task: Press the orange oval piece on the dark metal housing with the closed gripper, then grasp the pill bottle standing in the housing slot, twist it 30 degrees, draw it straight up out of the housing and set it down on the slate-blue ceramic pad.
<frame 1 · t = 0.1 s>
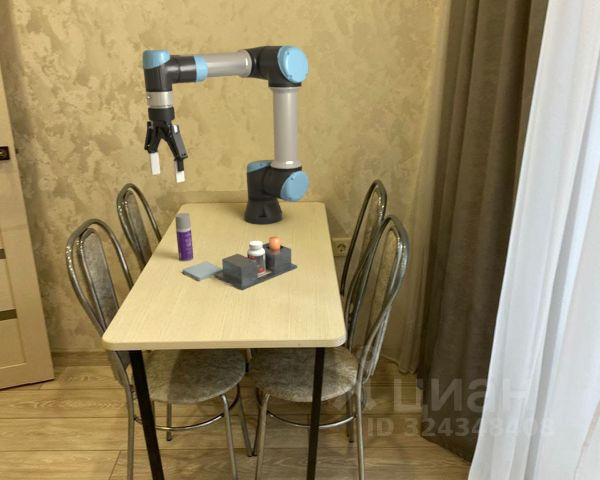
hand: (167, 177, 165), 28 cm above the table, fingers open, 13 cm apart
pill bottle: (257, 273, 167), resting in housing
orange oval piece: (274, 246, 170), point 6 cm above the table, slide at 0.0 cm
pad: (203, 272, 168), on the table
housing: (256, 272, 167), on the table
container: (186, 259, 178), on the table
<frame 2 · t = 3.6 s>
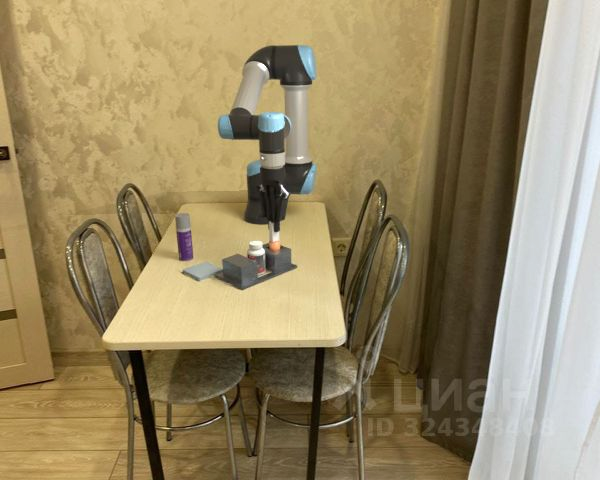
hand: (274, 240, 169), 8 cm above the table, fingers closed
orange oval piece: (274, 248, 170), point 6 cm above the table, slide at 0.9 cm, touching gripper
everything else where it was.
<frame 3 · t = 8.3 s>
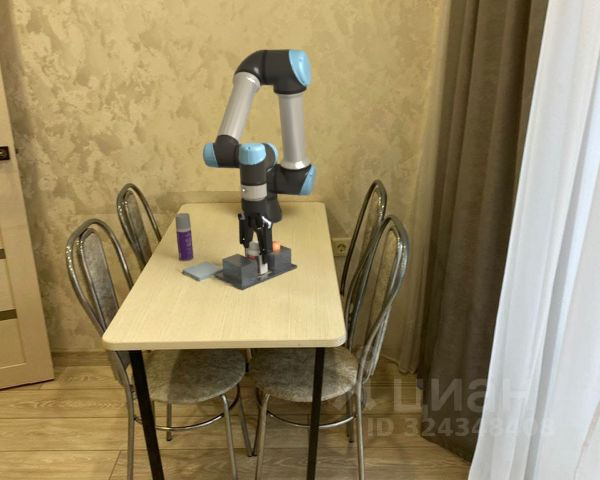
hand: (256, 269, 167), 1 cm above the table, fingers closed on pill bottle, 5 cm apart
pill bottle: (257, 272, 167), resting in housing, touching gripper
orange oval piece: (274, 250, 171), point 5 cm above the table, slide at 1.5 cm
everything else where it was.
when the fingers open (3 cm above the table, at t = 14.9 s): pill bottle drops 1 cm, resting on pad.
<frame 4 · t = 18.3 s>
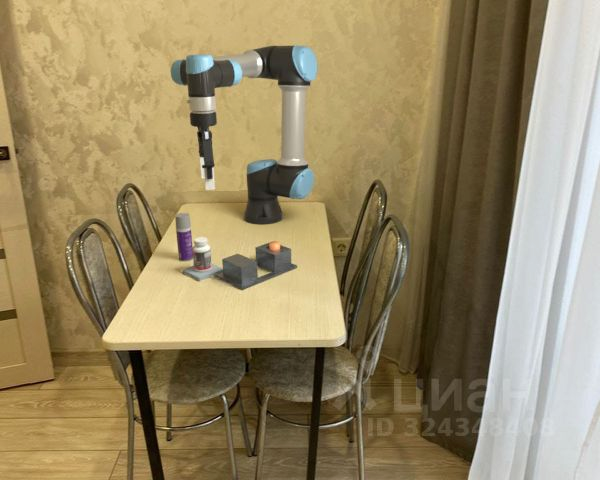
hand: (208, 183, 163), 27 cm above the table, fingers open, 13 cm apart
pill bottle: (203, 269, 168), point 1 cm above the table, touching pad
everything else where it was.
at the end: pill bottle 0.2 cm from the pad (horizontally); pill bottle tilted 0°; orange oval piece slide at 1.5 cm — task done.
